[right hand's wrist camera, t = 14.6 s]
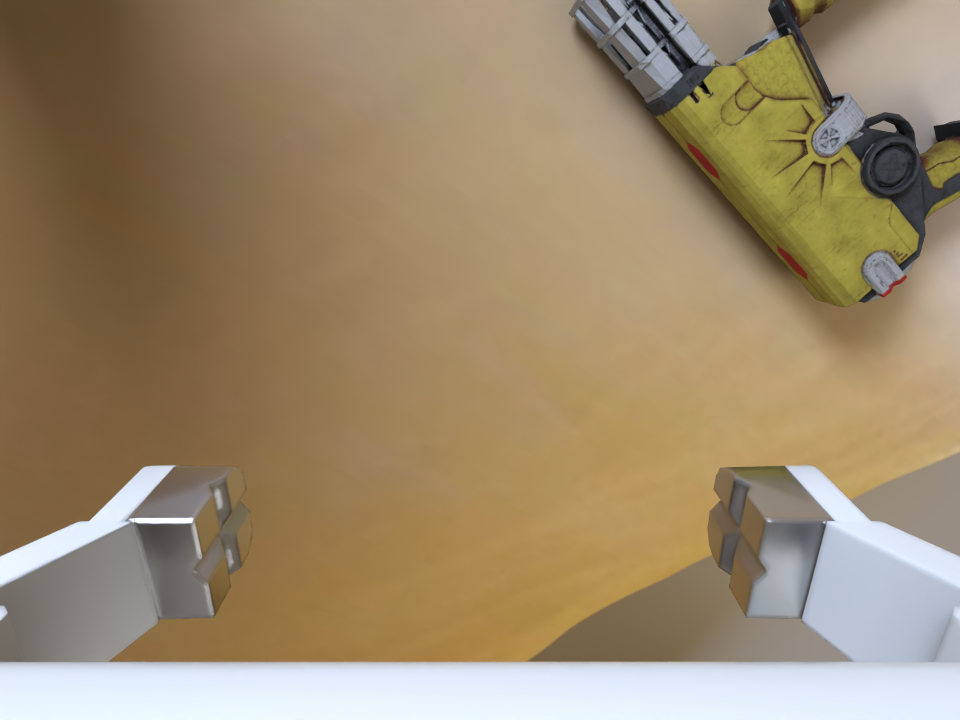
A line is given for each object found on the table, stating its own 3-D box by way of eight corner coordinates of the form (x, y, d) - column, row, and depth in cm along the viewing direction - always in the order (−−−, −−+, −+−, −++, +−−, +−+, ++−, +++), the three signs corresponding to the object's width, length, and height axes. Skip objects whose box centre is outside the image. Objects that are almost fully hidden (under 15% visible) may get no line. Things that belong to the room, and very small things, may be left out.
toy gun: (820, -276, 26) (578, -6, 29) (1092, 126, 31) (865, 326, 34) (767, -207, 31) (562, 21, 33) (1012, 135, 36) (817, 310, 38)
